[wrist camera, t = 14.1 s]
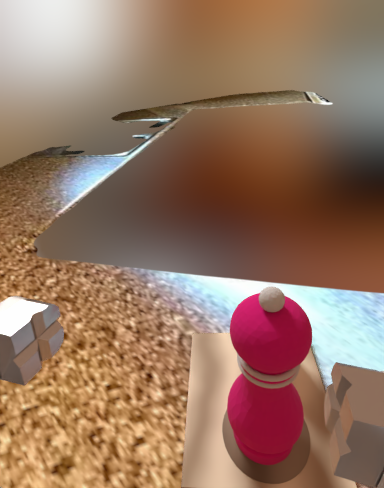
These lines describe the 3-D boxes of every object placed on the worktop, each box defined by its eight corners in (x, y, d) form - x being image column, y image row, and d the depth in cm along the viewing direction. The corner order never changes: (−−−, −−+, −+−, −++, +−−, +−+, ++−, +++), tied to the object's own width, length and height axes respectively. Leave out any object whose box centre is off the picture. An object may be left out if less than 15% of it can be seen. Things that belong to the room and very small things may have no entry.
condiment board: (183, 492, 28) (181, 486, 27) (193, 340, 43) (192, 333, 42) (355, 500, 27) (359, 493, 26) (304, 338, 42) (305, 331, 41)
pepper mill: (272, 387, 34) (285, 249, 24) (314, 451, 29) (357, 307, 18) (217, 412, 33) (203, 275, 22) (250, 486, 27) (253, 350, 16)
